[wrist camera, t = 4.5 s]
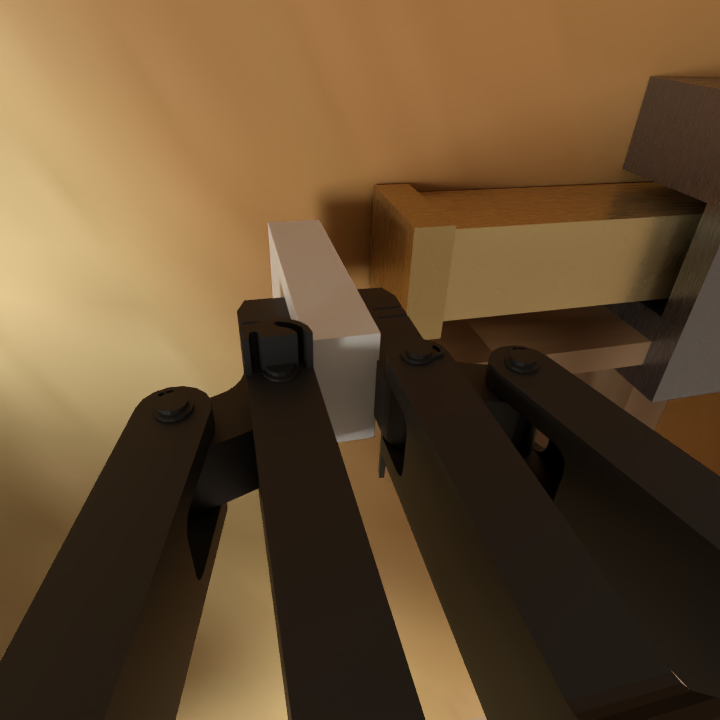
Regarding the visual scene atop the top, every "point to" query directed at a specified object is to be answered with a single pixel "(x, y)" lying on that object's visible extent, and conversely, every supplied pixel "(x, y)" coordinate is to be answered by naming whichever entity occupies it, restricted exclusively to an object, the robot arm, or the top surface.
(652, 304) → the socket block
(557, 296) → the tan square peg
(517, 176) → the top surface
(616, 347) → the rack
